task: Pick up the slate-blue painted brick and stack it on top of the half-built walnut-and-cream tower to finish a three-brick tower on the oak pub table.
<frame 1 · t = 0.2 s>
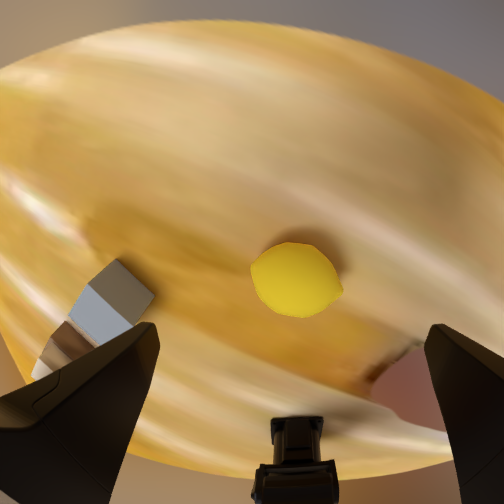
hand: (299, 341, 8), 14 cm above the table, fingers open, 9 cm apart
slate brick: (122, 292, 26), on the table
lemon: (294, 263, 23), on the table
tower base: (78, 351, 30), on the table
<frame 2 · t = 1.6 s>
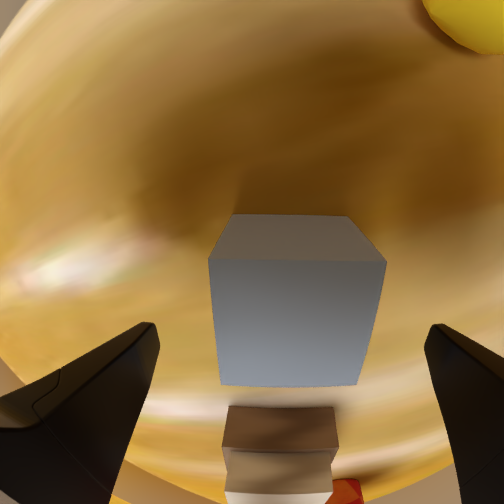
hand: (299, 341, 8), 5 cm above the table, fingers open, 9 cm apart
slate brick: (289, 267, 13), on the table
lemon: (451, 16, 8), on the table
paper cup: (335, 485, 23), on the table
tower base: (278, 432, 18), on the table
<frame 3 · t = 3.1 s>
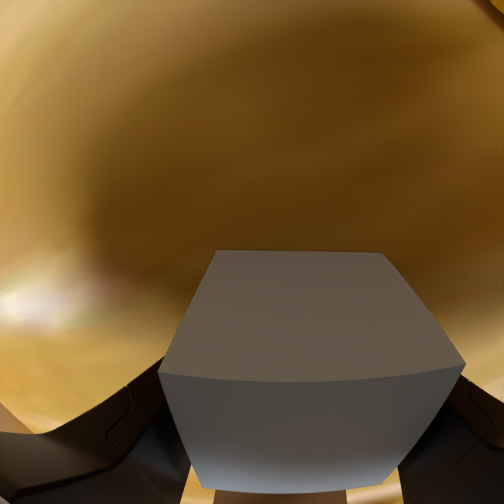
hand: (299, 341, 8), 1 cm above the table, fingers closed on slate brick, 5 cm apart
slate brick: (297, 322, 9), on the table, touching gripper
tower base: (279, 479, 14), on the table
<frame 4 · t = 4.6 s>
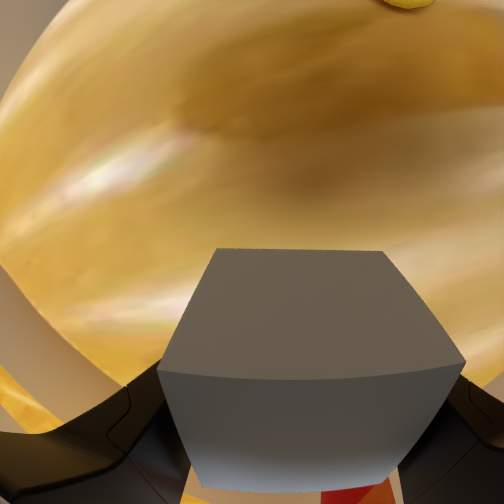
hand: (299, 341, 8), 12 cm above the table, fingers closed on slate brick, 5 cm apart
slate brick: (297, 320, 9), point 11 cm above the table, touching gripper
paper cup: (345, 419, 27), on the table
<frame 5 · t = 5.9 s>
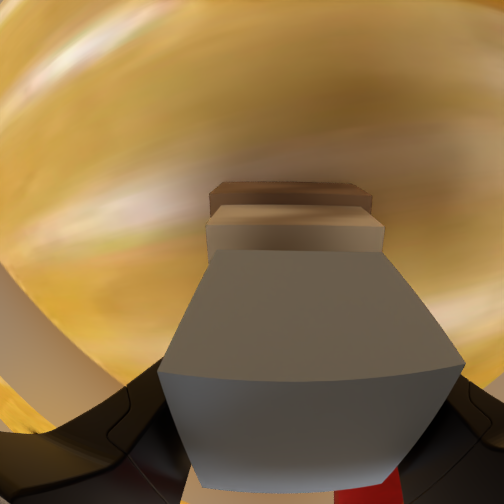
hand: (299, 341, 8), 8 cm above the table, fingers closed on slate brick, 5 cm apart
slate brick: (297, 321, 9), point 7 cm above the table, touching gripper
paper cup: (362, 396, 21), on the table
tower base: (287, 243, 16), on the table
when the fingers open (8 cm above the table, at t = 6.5 s): slate brick drops 1 cm, resting on tower base.
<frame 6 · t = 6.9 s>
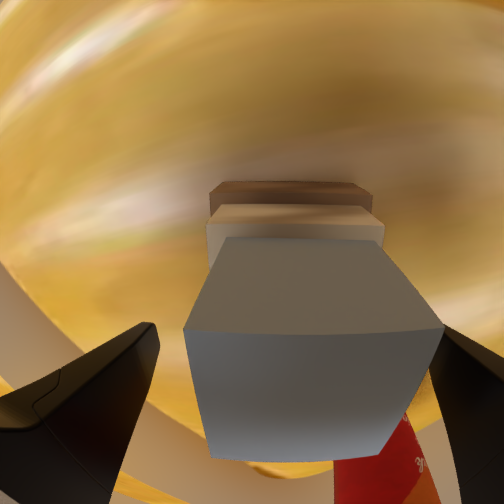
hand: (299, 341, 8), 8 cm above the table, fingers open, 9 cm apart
slate brick: (298, 304, 10), point 6 cm above the table, touching tower base
paper cup: (362, 396, 21), on the table
tower base: (288, 242, 16), on the table, touching slate brick
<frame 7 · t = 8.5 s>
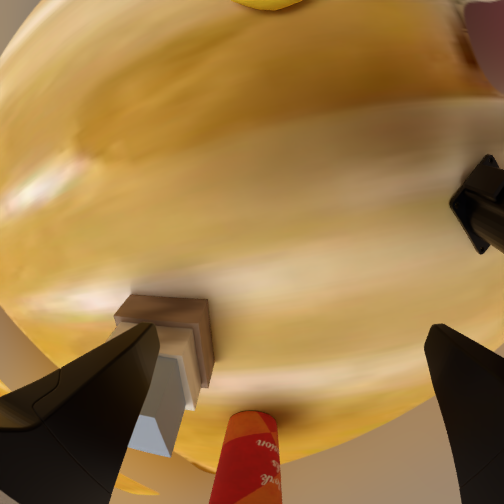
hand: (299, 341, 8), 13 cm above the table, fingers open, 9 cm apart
slate brick: (149, 378, 18), point 6 cm above the table, touching tower base
paper cup: (252, 422, 29), on the table
tower base: (173, 329, 25), on the table, touching slate brick
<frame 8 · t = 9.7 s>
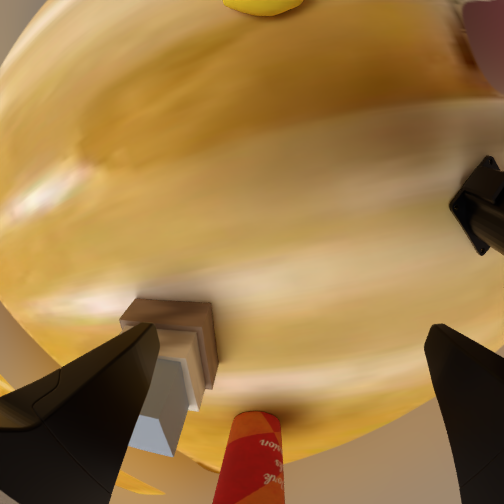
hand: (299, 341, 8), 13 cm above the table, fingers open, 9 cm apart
slate brick: (153, 380, 19), point 6 cm above the table, touching tower base
paper cup: (256, 422, 30), on the table
tower base: (177, 332, 25), on the table, touching slate brick
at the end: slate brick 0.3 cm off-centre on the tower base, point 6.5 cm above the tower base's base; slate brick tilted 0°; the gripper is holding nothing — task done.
